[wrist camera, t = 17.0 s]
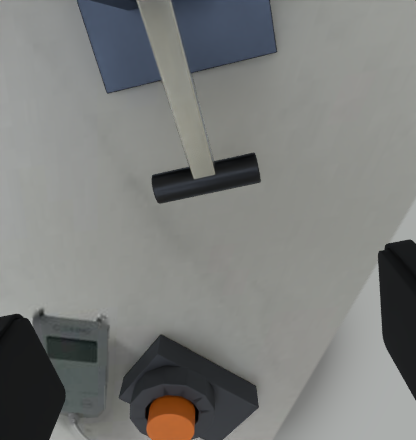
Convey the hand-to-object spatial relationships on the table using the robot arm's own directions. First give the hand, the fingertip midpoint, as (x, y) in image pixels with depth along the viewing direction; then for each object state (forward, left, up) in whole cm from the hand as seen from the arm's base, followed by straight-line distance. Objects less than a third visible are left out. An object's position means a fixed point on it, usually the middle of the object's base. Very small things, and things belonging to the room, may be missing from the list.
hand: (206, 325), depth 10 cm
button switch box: (-11, +18, -17) cm, 27 cm away
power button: (-9, +18, -13) cm, 24 cm away
